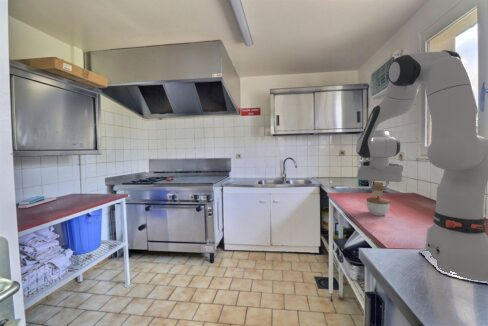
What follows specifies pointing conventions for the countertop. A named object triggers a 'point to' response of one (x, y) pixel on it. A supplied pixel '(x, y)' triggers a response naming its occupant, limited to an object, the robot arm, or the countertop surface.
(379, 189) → the beech block
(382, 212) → the lidded jar
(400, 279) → the countertop surface
